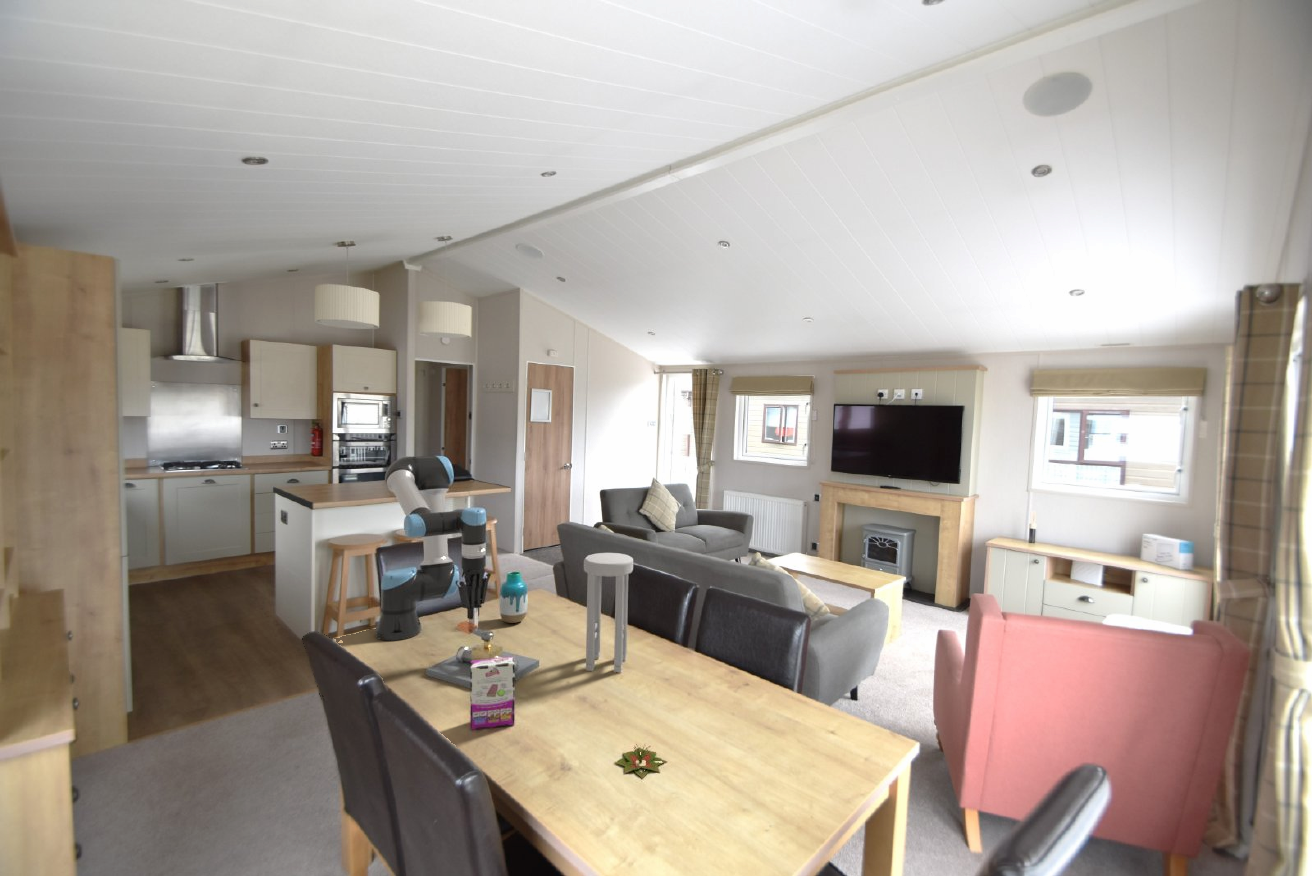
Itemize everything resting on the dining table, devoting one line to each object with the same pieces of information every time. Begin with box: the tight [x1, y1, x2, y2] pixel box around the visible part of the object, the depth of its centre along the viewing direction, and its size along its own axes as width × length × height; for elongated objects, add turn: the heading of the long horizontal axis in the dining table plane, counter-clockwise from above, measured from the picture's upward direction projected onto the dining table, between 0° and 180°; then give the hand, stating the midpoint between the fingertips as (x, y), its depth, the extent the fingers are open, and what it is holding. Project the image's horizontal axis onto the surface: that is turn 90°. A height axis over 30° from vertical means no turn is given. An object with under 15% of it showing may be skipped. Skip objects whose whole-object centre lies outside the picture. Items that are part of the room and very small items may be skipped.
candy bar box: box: [469, 657, 516, 731], centre depth 153 cm, size 11×5×16 cm, turn 105°
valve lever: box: [457, 620, 494, 642], centre depth 186 cm, size 4×16×2 cm, turn 51°
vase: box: [499, 571, 529, 624], centre depth 228 cm, size 11×11×19 cm
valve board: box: [425, 644, 540, 689], centre depth 184 cm, size 26×22×2 cm
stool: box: [583, 552, 634, 674], centre depth 191 cm, size 16×16×35 cm
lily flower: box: [613, 743, 668, 780], centre depth 137 cm, size 12×12×5 cm
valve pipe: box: [455, 640, 519, 673], centre depth 183 cm, size 21×6×9 cm, turn 64°
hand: (473, 627), depth 192 cm, fingers closed
